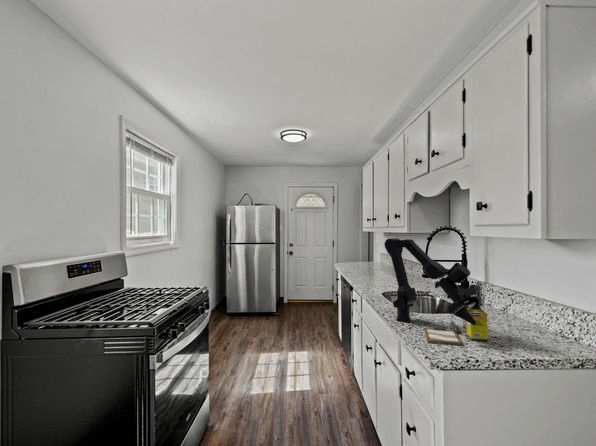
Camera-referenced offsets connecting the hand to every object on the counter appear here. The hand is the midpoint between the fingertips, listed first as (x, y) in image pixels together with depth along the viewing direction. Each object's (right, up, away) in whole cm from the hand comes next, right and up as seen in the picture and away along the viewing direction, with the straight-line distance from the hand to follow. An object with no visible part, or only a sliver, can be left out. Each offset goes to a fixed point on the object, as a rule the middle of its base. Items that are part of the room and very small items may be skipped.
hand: (480, 322), depth 127 cm
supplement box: (-1, -7, +1) cm, 7 cm away
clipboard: (-14, -7, +3) cm, 16 cm away
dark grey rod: (-4, -6, +13) cm, 15 cm away
